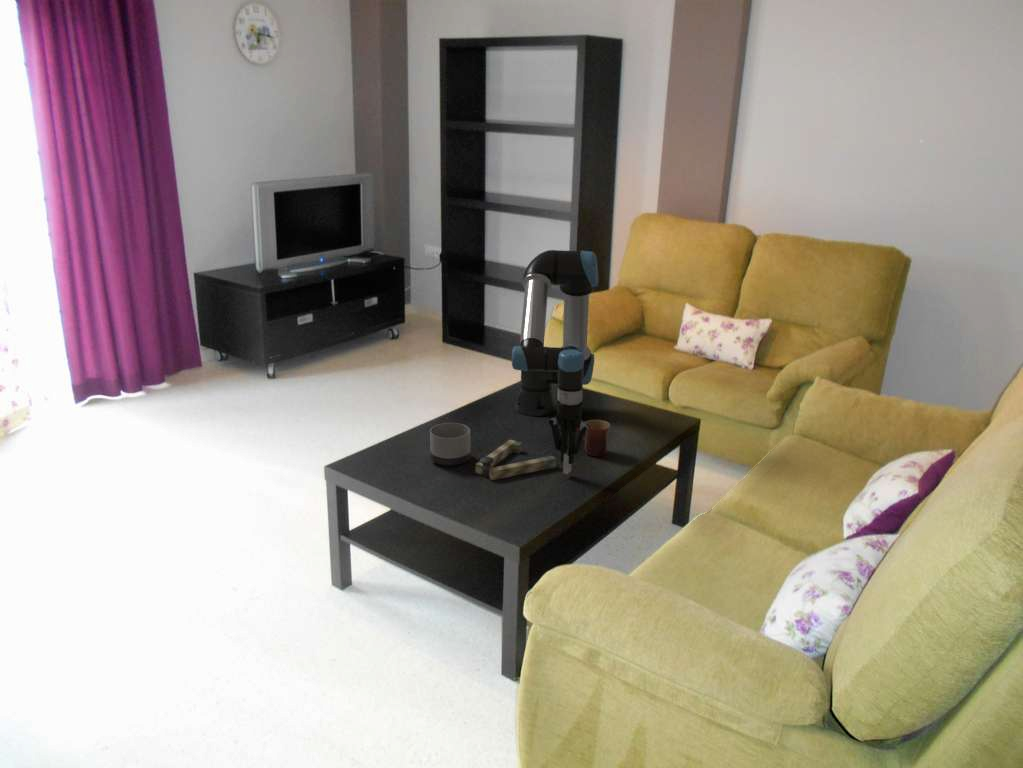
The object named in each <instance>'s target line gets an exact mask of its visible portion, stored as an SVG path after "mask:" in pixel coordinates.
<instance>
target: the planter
mask: <svg viewBox="0 0 1023 768" xmlns="http://www.w3.org/2000/svg"><path fill="white" fill-rule="evenodd" d="M429 441H430V442H429V444H430V449H429V450H430V459H431V461H433V462H434V463H436V464H439V465H443V466H447V465H449V466H452V465H453V466H457V465H461V464H463V463H466V462H468V460H470V458H471V429H470V427H469V426H467V424H463V423H457V422H445V423H439V424H436V425H434V426H432V427H431V428H430V429H429ZM449 466H448V467H449ZM453 466H452V467H453Z"/></svg>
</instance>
